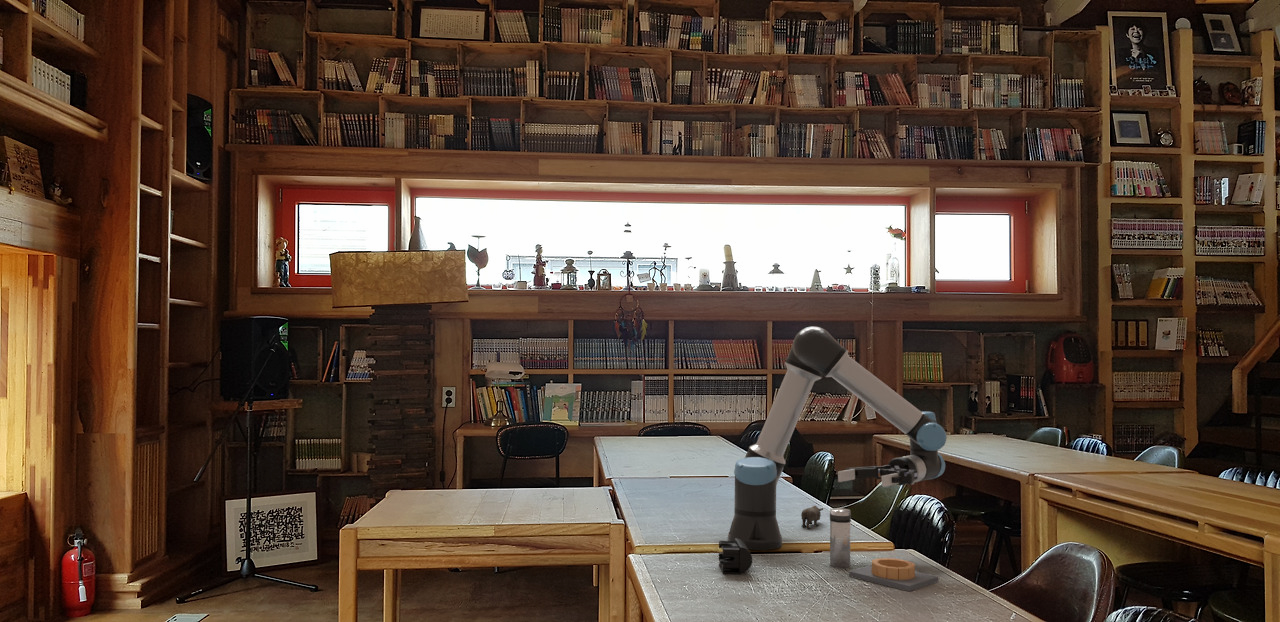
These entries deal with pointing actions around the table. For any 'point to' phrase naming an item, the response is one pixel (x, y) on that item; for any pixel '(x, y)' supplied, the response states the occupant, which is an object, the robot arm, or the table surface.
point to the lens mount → (894, 574)
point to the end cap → (734, 557)
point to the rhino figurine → (811, 516)
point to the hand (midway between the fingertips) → (860, 479)
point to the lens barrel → (840, 538)
